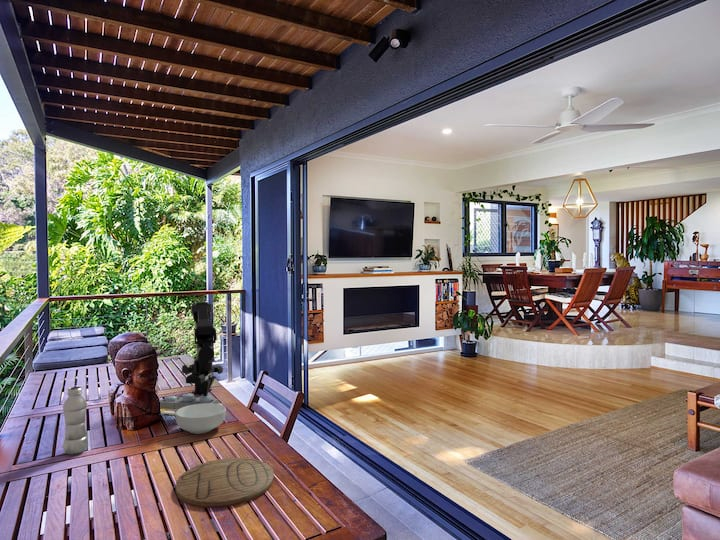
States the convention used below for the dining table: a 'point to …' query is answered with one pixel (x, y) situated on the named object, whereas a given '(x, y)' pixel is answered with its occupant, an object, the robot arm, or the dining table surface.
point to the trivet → (224, 482)
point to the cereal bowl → (200, 417)
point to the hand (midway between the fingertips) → (205, 395)
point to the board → (178, 405)
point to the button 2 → (188, 398)
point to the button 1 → (171, 398)
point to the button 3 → (205, 399)
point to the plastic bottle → (75, 422)
